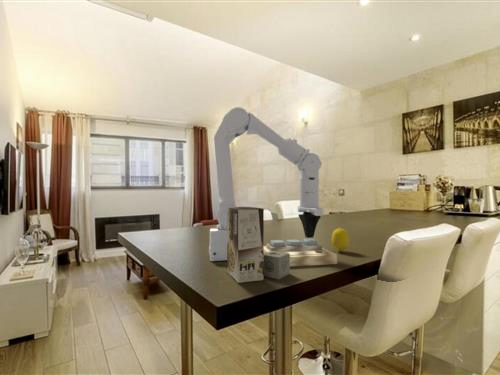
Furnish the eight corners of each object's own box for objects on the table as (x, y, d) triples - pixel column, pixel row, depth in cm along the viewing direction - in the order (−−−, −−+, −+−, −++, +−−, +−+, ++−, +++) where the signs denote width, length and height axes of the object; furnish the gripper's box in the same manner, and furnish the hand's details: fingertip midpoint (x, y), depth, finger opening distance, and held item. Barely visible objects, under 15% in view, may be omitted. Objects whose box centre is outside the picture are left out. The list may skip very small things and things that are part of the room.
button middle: (290, 247, 79) (290, 242, 79) (286, 244, 83) (286, 239, 83) (301, 246, 80) (301, 241, 80) (297, 244, 83) (297, 239, 83)
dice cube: (272, 270, 68) (272, 250, 68) (289, 274, 65) (289, 253, 65) (260, 275, 64) (260, 254, 64) (278, 279, 61) (278, 257, 61)
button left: (273, 247, 78) (273, 242, 78) (270, 245, 82) (270, 240, 82) (285, 247, 79) (285, 242, 79) (281, 244, 82) (281, 240, 82)
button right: (306, 246, 80) (306, 241, 80) (301, 244, 84) (301, 239, 84) (317, 246, 81) (317, 241, 81) (312, 243, 84) (312, 238, 84)
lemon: (351, 253, 85) (351, 228, 86) (334, 253, 86) (334, 228, 86) (346, 249, 91) (346, 226, 91) (329, 249, 91) (329, 226, 91)
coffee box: (264, 280, 60) (264, 208, 60) (237, 283, 58) (237, 208, 58) (250, 269, 69) (250, 206, 69) (226, 271, 66) (226, 206, 67)
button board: (273, 267, 70) (273, 253, 70) (260, 254, 85) (260, 242, 85) (337, 263, 73) (336, 250, 74) (314, 251, 88) (314, 240, 88)
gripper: (332, 193, 76) (333, 241, 76) (311, 192, 90) (312, 233, 90) (309, 193, 75) (309, 242, 74) (291, 192, 89) (291, 233, 89)
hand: (309, 237), depth 82 cm, fingers closed
